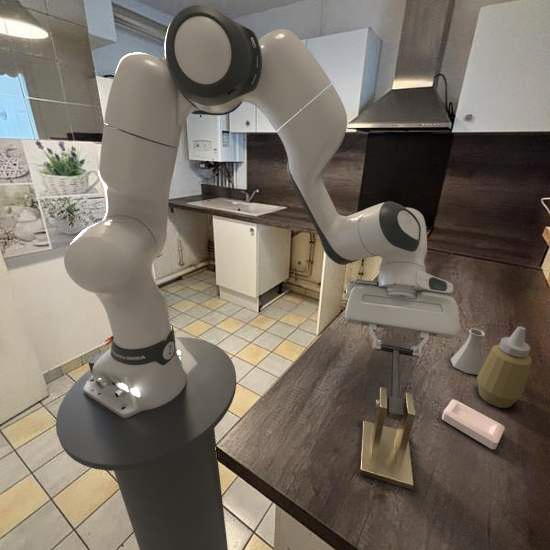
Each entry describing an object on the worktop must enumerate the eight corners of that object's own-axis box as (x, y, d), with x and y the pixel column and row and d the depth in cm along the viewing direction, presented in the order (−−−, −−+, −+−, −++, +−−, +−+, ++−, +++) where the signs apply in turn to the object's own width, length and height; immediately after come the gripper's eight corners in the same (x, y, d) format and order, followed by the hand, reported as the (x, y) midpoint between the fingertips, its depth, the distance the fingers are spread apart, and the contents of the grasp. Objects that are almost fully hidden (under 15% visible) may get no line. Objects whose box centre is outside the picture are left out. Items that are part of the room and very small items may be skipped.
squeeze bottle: (493, 381, 68) (518, 315, 61) (527, 409, 61) (560, 337, 53) (463, 387, 66) (486, 319, 59) (495, 416, 59) (525, 342, 52)
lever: (379, 347, 57) (381, 340, 55) (410, 353, 55) (412, 346, 53) (375, 415, 48) (377, 409, 46) (411, 424, 46) (415, 418, 45)
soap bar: (450, 405, 61) (453, 397, 60) (502, 434, 55) (506, 425, 54) (440, 420, 58) (443, 411, 57) (494, 452, 52) (498, 442, 51)
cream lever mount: (362, 424, 57) (371, 373, 52) (406, 436, 55) (420, 383, 50) (360, 474, 48) (370, 418, 43) (412, 490, 46) (429, 433, 41)
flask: (484, 379, 68) (496, 344, 64) (449, 368, 72) (459, 334, 68) (483, 362, 74) (494, 329, 70) (450, 352, 78) (460, 320, 74)
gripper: (348, 272, 59) (338, 340, 54) (463, 285, 53) (463, 362, 48) (348, 283, 64) (339, 345, 60) (451, 296, 59) (451, 366, 54)
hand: (395, 353), depth 54 cm, fingers closed on lever, 5 cm apart
